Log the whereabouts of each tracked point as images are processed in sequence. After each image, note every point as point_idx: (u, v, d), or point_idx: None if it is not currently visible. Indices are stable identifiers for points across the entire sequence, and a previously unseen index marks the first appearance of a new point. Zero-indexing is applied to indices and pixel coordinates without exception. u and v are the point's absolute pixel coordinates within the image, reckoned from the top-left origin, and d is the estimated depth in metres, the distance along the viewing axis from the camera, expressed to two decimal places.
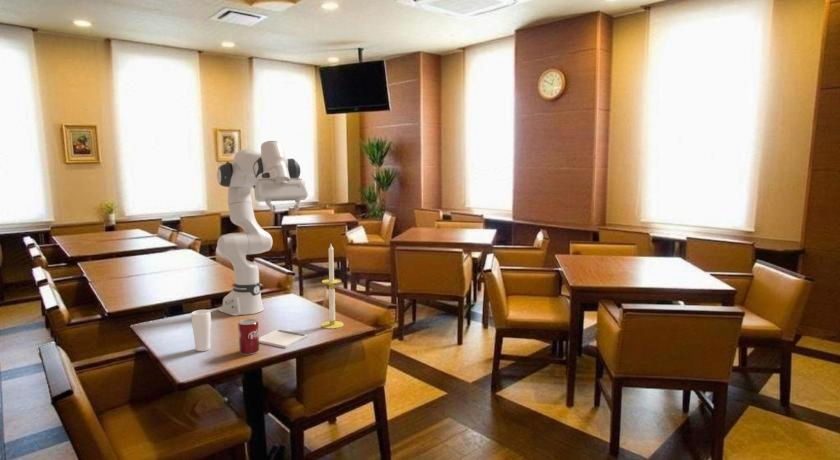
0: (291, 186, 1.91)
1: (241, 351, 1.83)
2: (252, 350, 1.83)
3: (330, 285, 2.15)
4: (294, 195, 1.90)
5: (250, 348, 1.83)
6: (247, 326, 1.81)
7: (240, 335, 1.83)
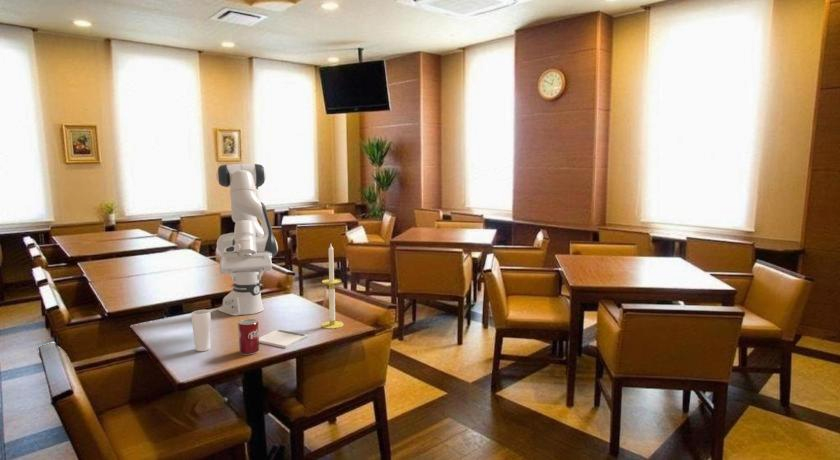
0: (256, 258, 2.00)
1: (241, 351, 1.83)
2: (252, 350, 1.83)
3: (330, 285, 2.15)
4: (257, 266, 1.98)
5: (250, 348, 1.83)
6: (247, 326, 1.82)
7: (240, 335, 1.83)
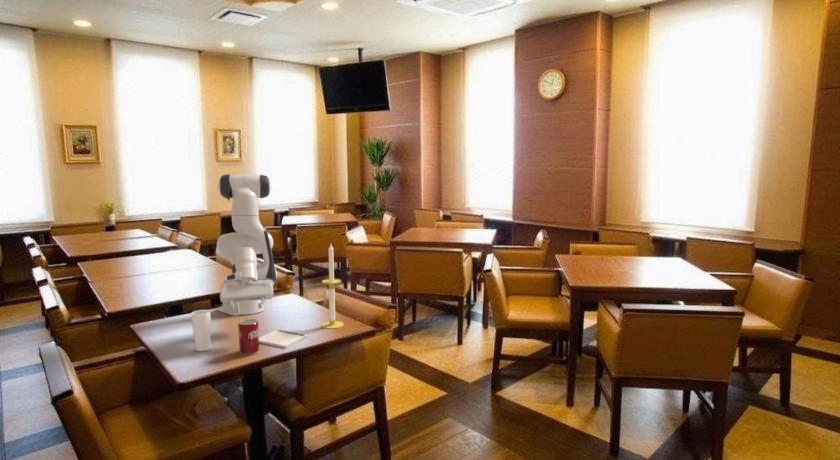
0: (257, 286, 1.97)
1: (241, 351, 1.83)
2: (252, 350, 1.83)
3: (330, 285, 2.15)
4: (258, 294, 1.95)
5: (250, 348, 1.83)
6: (247, 326, 1.81)
7: (240, 335, 1.83)
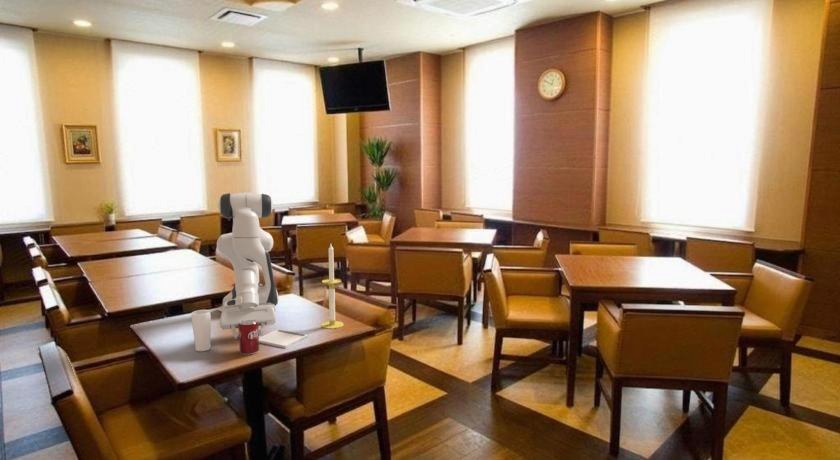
0: (258, 311, 1.90)
1: (241, 351, 1.83)
2: (252, 350, 1.83)
3: (330, 285, 2.15)
4: (259, 320, 1.88)
5: (250, 348, 1.83)
6: (247, 325, 1.81)
7: (240, 335, 1.83)
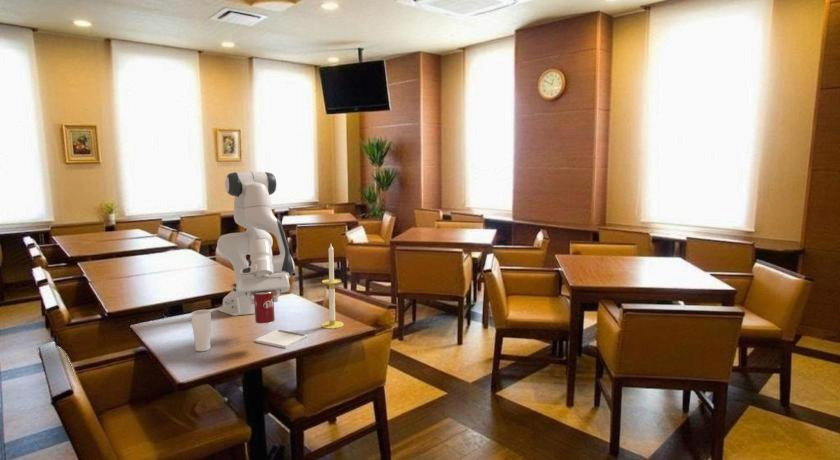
0: (273, 279, 1.94)
1: (257, 321, 1.87)
2: (268, 319, 1.87)
3: (330, 285, 2.15)
4: (274, 287, 1.92)
5: (265, 318, 1.87)
6: (262, 295, 1.86)
7: (256, 305, 1.87)
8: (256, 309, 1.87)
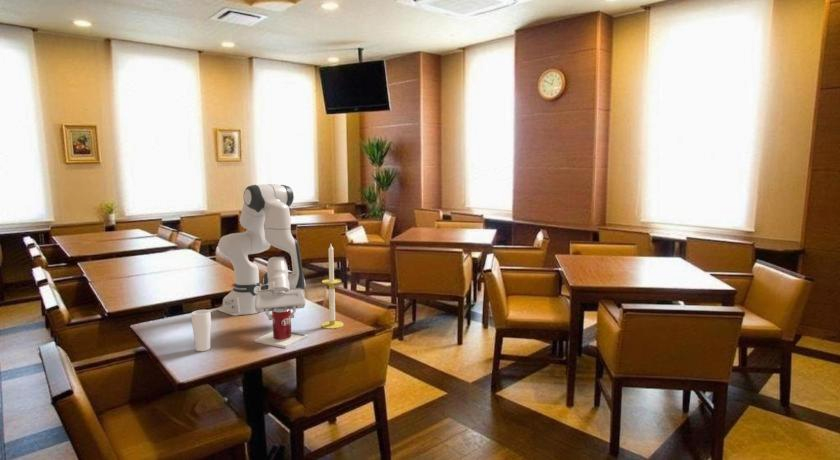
0: (289, 295, 2.04)
1: (275, 337, 1.96)
2: (285, 336, 1.96)
3: (330, 285, 2.15)
4: (291, 303, 2.01)
5: (283, 334, 1.95)
6: (280, 313, 1.94)
7: (274, 322, 1.95)
8: (274, 326, 1.95)
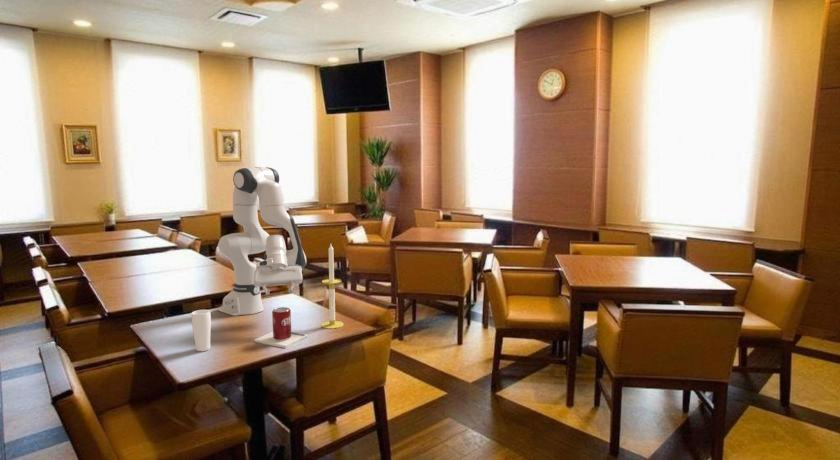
0: (287, 271, 2.11)
1: (275, 337, 1.96)
2: (285, 336, 1.96)
3: (330, 285, 2.15)
4: (288, 279, 2.08)
5: (283, 334, 1.95)
6: (280, 313, 1.94)
7: (274, 322, 1.95)
8: (274, 326, 1.95)
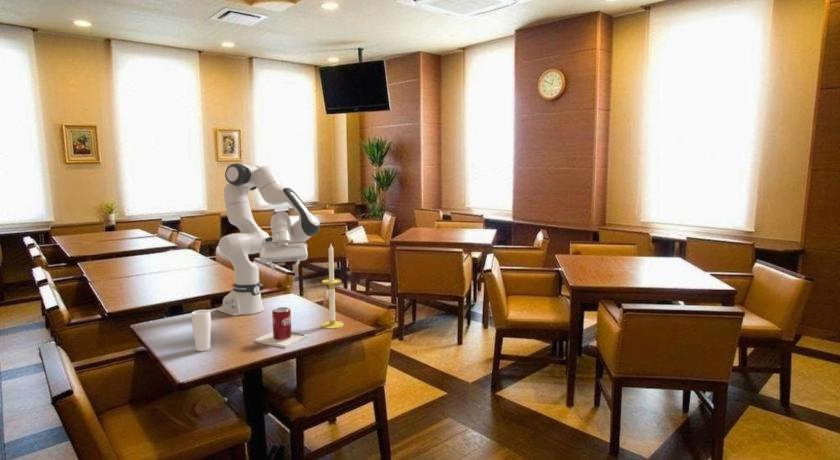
0: (292, 248, 2.13)
1: (275, 337, 1.96)
2: (285, 336, 1.96)
3: (330, 285, 2.15)
4: (294, 255, 2.10)
5: (283, 334, 1.95)
6: (280, 313, 1.94)
7: (274, 322, 1.95)
8: (274, 326, 1.95)
